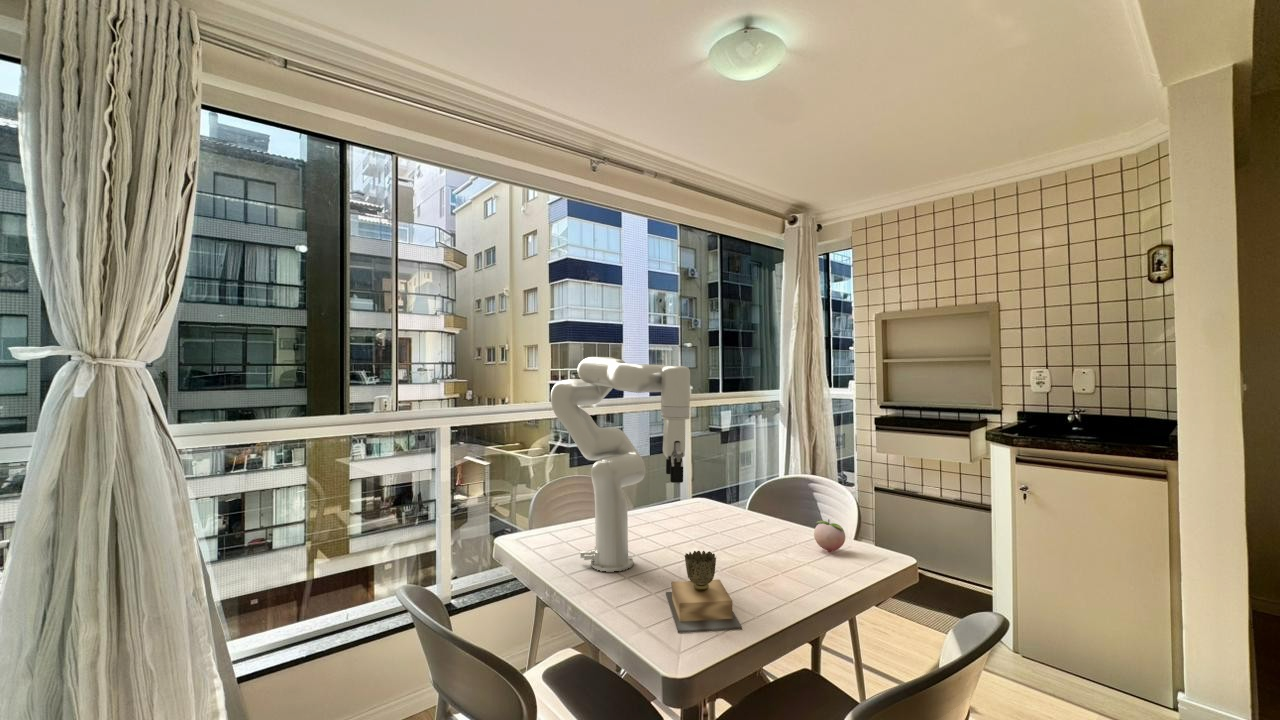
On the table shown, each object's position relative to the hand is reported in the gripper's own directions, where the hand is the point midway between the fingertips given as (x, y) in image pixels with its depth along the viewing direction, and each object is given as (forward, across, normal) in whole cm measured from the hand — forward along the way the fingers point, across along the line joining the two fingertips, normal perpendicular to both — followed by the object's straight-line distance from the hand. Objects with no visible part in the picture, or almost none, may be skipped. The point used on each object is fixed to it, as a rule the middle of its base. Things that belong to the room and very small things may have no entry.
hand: (674, 477), depth 135 cm
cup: (+24, +14, +5) cm, 28 cm away
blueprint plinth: (+28, +14, +5) cm, 32 cm away
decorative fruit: (+28, -20, +51) cm, 62 cm away
